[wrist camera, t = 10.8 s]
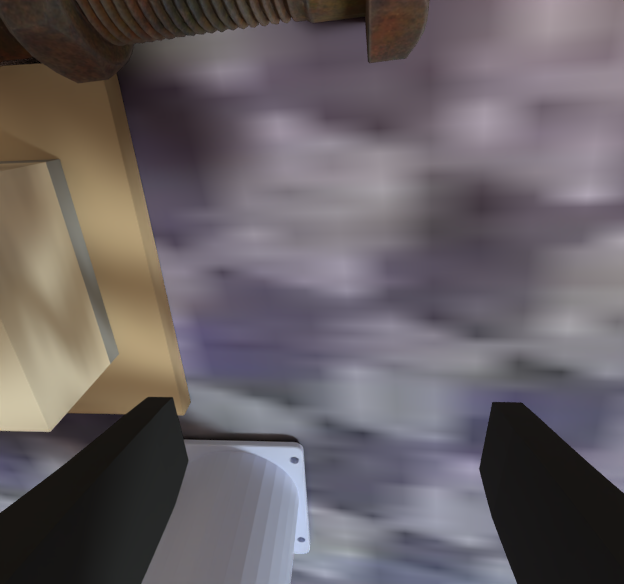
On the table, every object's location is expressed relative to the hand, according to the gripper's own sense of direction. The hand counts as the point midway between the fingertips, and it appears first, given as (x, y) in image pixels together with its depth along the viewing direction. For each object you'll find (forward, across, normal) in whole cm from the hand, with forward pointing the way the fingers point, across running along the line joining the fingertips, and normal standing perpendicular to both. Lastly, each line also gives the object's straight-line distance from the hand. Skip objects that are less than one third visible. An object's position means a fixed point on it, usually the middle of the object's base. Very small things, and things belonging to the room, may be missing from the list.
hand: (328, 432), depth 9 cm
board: (+9, +13, 0) cm, 16 cm away
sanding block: (+8, +13, -1) cm, 15 cm away
